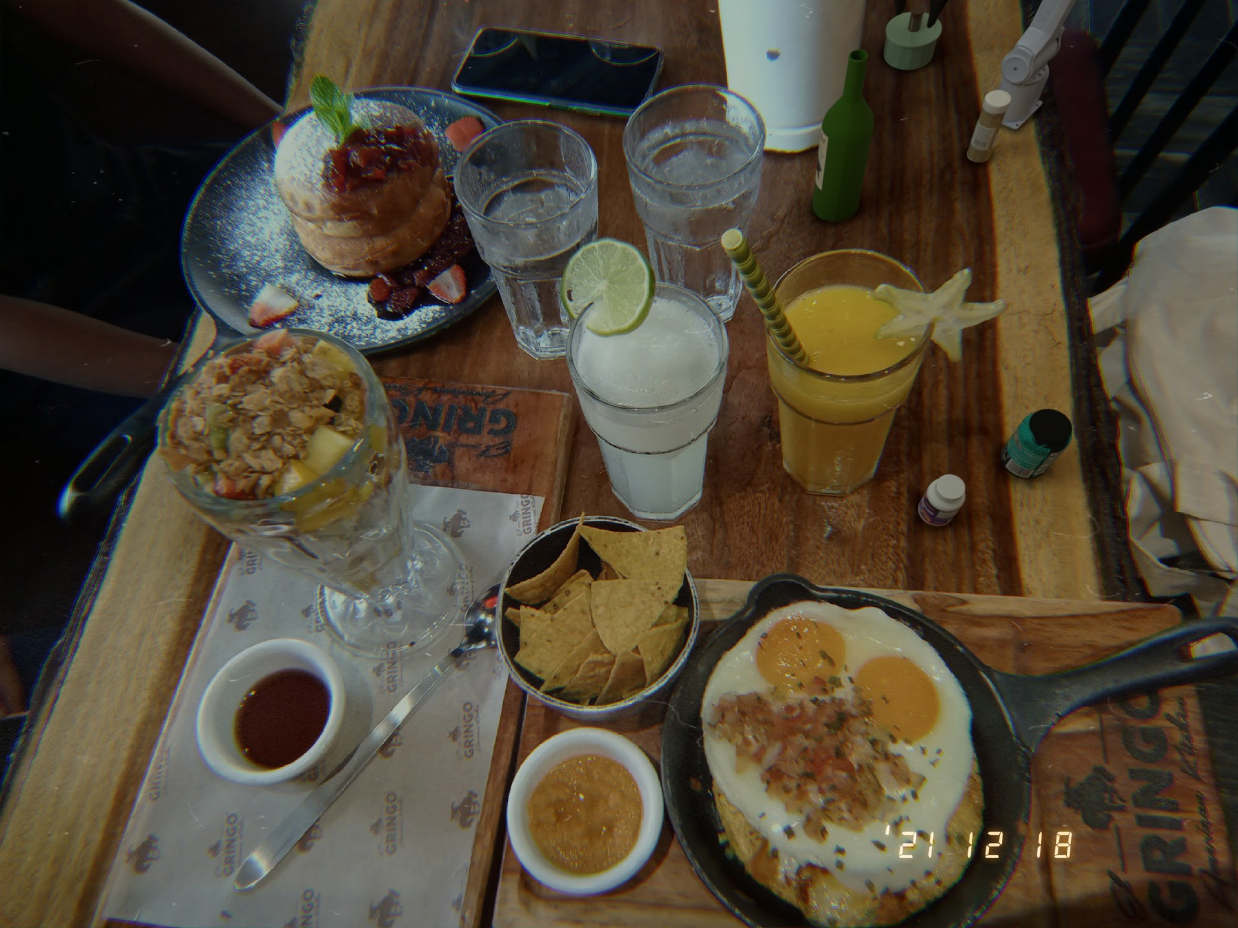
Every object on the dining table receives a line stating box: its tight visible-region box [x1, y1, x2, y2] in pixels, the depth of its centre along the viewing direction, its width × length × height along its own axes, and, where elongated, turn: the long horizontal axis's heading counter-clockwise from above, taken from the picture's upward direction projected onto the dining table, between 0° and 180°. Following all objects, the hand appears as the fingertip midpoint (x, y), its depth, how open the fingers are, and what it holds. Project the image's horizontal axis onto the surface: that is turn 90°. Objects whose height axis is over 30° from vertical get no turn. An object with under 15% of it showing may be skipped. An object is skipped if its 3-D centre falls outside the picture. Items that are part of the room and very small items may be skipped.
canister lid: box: [885, 5, 943, 48], centre depth 156 cm, size 11×11×5 cm
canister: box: [883, 37, 938, 71], centre depth 160 cm, size 10×10×6 cm
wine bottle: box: [812, 49, 875, 222], centre depth 132 cm, size 9×9×32 cm
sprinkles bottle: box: [966, 89, 1011, 163], centre depth 140 cm, size 5×5×13 cm
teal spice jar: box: [1000, 408, 1073, 480], centre depth 112 cm, size 7×7×12 cm
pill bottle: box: [917, 473, 966, 527], centre depth 112 cm, size 5×5×10 cm
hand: (915, 19), depth 152 cm, fingers open, 7 cm apart
